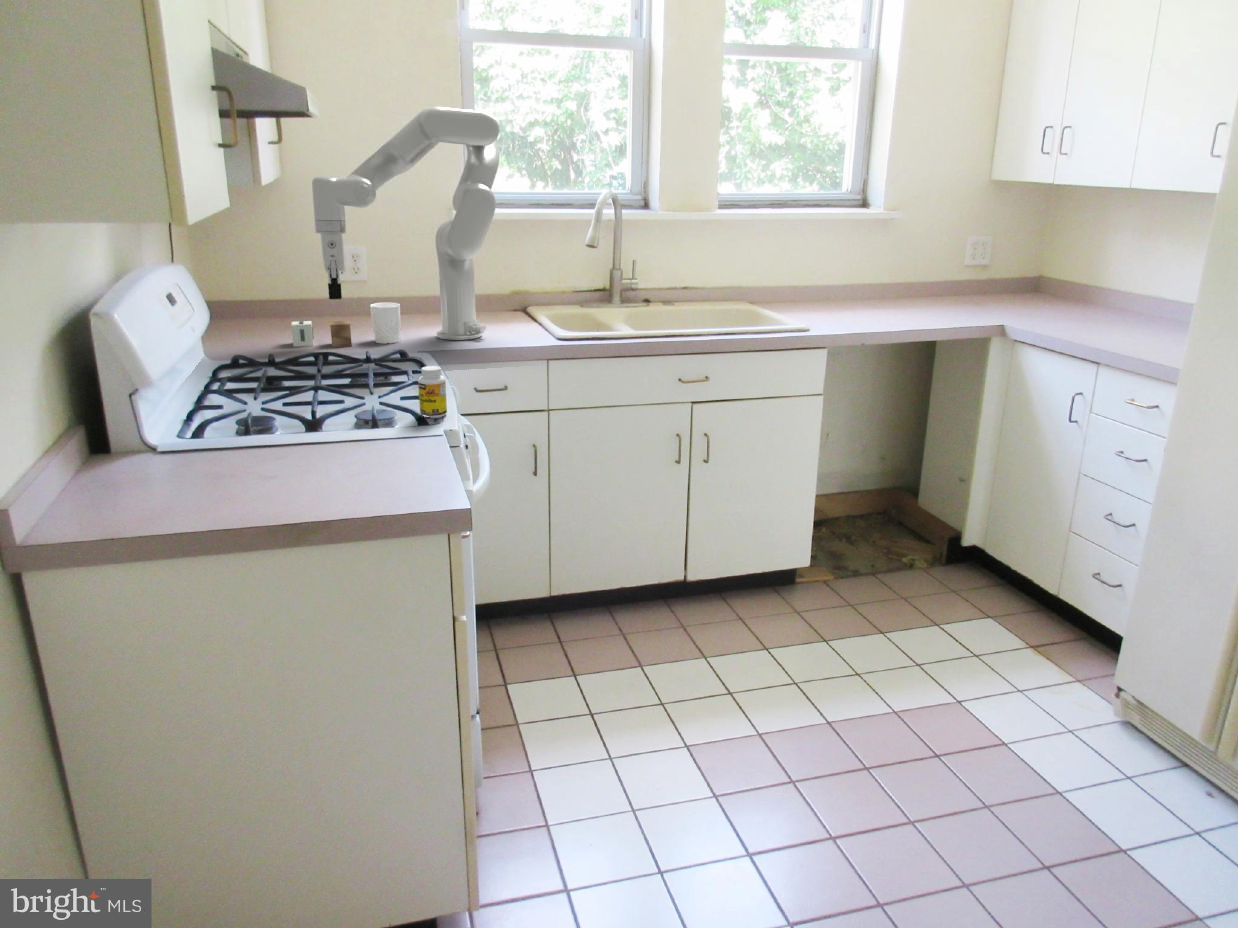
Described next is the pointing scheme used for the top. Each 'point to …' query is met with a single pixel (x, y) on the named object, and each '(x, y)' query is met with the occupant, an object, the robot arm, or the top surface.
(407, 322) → the top surface
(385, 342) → the white cup
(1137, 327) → the top surface
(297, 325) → the marked block
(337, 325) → the walnut block
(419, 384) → the supplement bottle
